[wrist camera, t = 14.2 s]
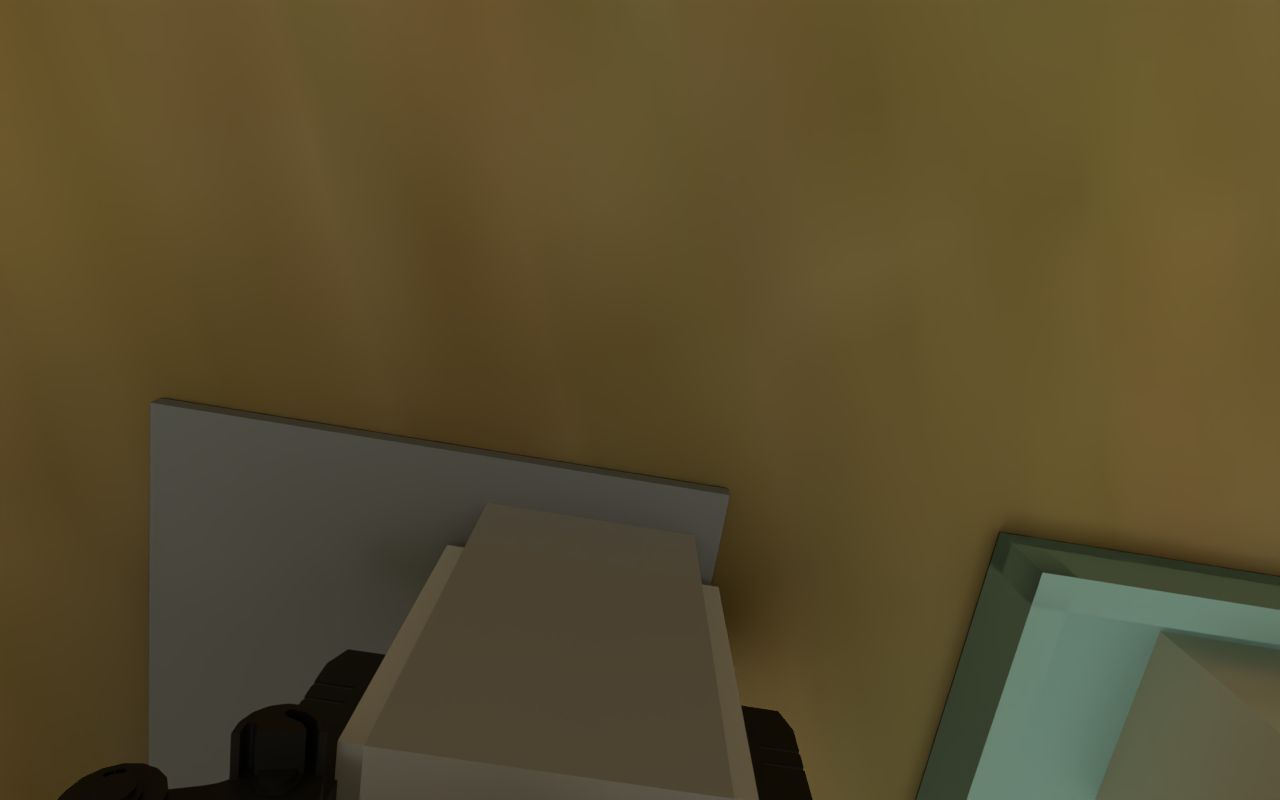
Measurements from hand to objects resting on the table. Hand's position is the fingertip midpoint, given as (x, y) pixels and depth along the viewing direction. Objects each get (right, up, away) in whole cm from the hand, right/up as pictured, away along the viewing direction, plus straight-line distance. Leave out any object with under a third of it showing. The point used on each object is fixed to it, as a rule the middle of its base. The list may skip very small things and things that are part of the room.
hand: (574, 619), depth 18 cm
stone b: (0, 0, 0) cm, 0 cm away
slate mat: (-4, -3, +2) cm, 5 cm away
